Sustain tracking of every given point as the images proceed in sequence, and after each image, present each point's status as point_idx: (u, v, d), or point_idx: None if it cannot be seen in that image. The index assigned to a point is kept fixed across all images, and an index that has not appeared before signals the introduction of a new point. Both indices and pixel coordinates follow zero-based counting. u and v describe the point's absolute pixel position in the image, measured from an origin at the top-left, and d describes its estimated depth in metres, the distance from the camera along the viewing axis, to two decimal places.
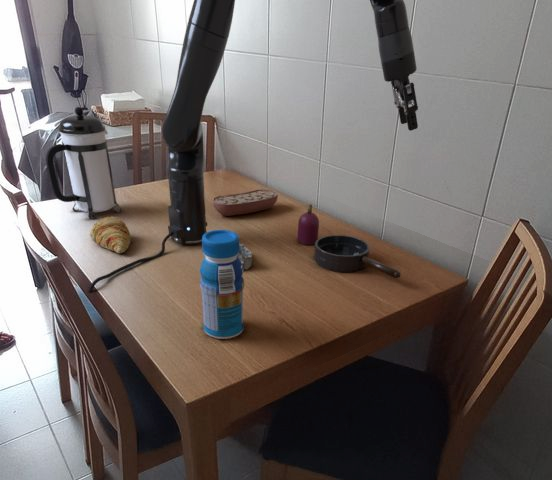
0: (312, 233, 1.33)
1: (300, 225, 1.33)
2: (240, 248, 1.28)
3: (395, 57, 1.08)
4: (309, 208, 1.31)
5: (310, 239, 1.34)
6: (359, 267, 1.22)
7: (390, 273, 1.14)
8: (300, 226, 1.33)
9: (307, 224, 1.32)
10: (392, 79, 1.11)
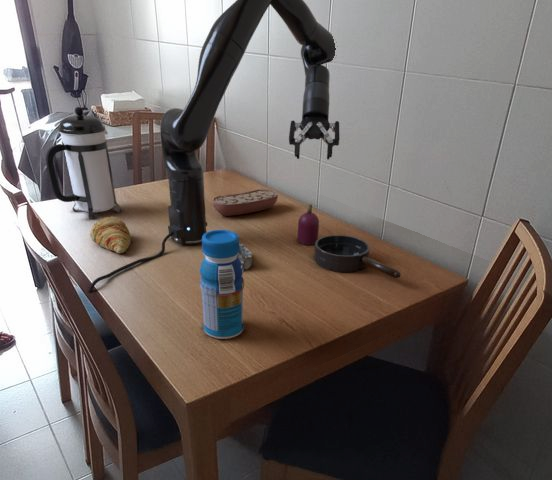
0: (312, 233, 1.33)
1: (300, 225, 1.33)
2: (240, 248, 1.28)
3: (328, 102, 1.35)
4: (309, 208, 1.31)
5: (310, 239, 1.34)
6: (359, 267, 1.22)
7: (390, 273, 1.14)
8: (300, 226, 1.33)
9: (307, 224, 1.32)
10: (325, 113, 1.34)
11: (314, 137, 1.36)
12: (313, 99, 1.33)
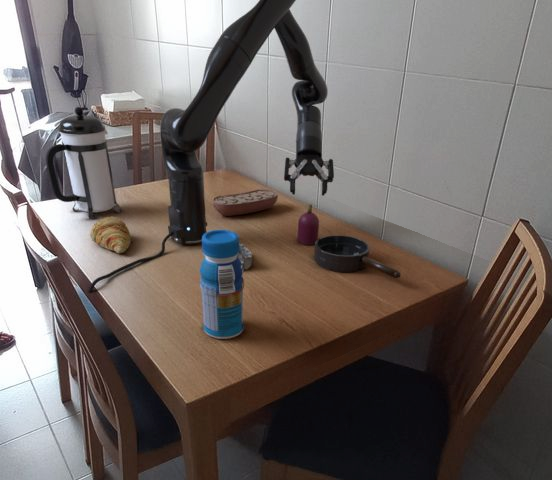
0: (312, 233, 1.33)
1: (300, 225, 1.33)
2: (240, 248, 1.28)
3: (321, 140, 1.39)
4: (309, 208, 1.31)
5: (310, 239, 1.34)
6: (359, 267, 1.22)
7: (390, 273, 1.14)
8: (300, 226, 1.33)
9: (307, 224, 1.32)
10: (319, 151, 1.36)
11: (308, 174, 1.38)
12: (307, 137, 1.36)
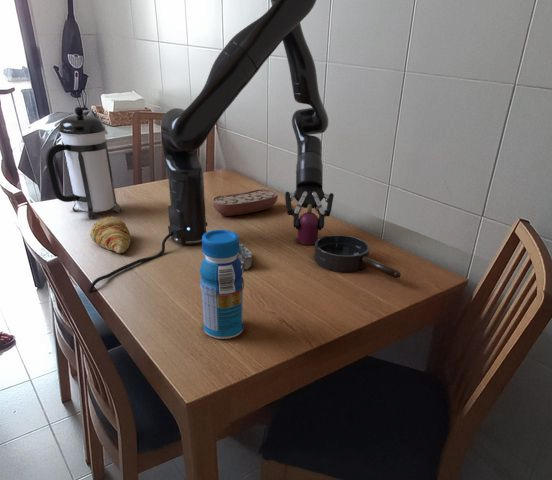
0: (312, 233, 1.33)
1: (300, 225, 1.33)
2: (240, 248, 1.28)
3: (322, 171, 1.35)
4: (309, 208, 1.31)
5: (310, 239, 1.34)
6: (359, 267, 1.22)
7: (390, 273, 1.14)
8: (300, 226, 1.33)
9: (307, 224, 1.32)
10: (319, 183, 1.33)
11: None
12: (308, 169, 1.32)
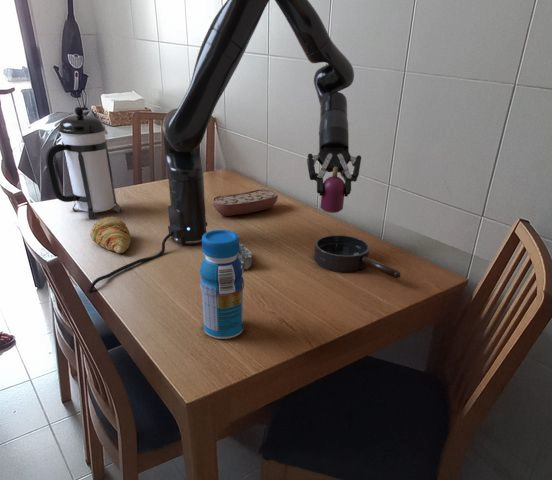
0: (338, 199, 1.20)
1: (324, 191, 1.20)
2: (240, 248, 1.28)
3: None
4: (335, 171, 1.18)
5: (335, 206, 1.21)
6: (359, 267, 1.22)
7: (390, 273, 1.14)
8: (324, 192, 1.20)
9: (333, 189, 1.19)
10: (346, 144, 1.20)
11: None
12: (333, 128, 1.19)
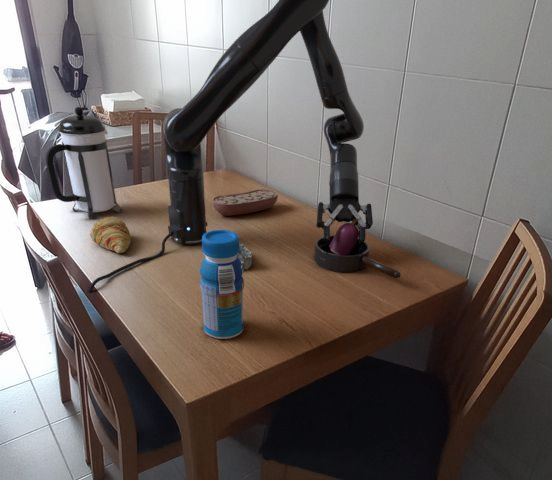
0: (345, 244, 1.24)
1: (338, 231, 1.24)
2: (240, 248, 1.28)
3: None
4: None
5: (341, 248, 1.24)
6: (359, 267, 1.22)
7: (390, 273, 1.14)
8: (338, 232, 1.24)
9: (345, 232, 1.23)
10: (356, 195, 1.22)
11: (344, 220, 1.24)
12: (343, 180, 1.22)
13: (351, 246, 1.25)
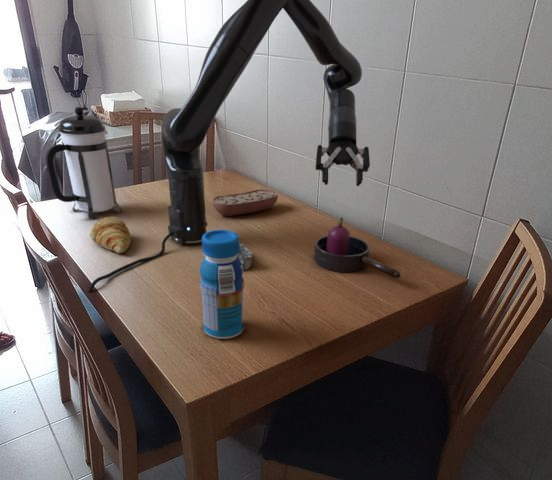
0: (338, 248, 1.24)
1: (328, 238, 1.24)
2: (240, 248, 1.28)
3: None
4: (339, 221, 1.22)
5: (336, 254, 1.25)
6: (359, 267, 1.22)
7: (390, 273, 1.14)
8: (328, 239, 1.25)
9: (334, 238, 1.23)
10: (354, 138, 1.27)
11: (342, 163, 1.28)
12: (342, 123, 1.26)
13: (345, 248, 1.24)
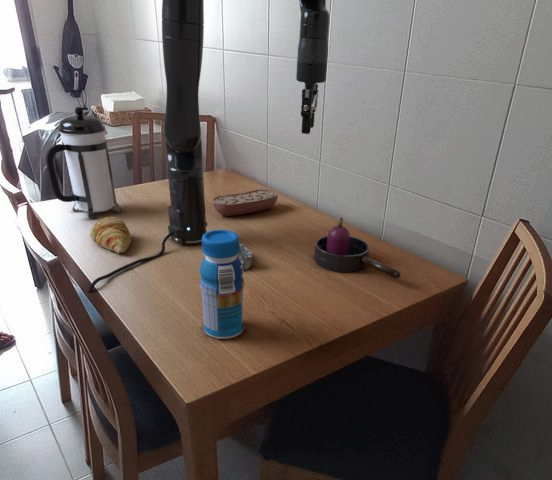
0: (338, 248, 1.24)
1: (328, 238, 1.24)
2: (240, 248, 1.28)
3: (306, 60, 1.16)
4: (339, 221, 1.22)
5: (336, 254, 1.25)
6: (359, 267, 1.22)
7: (390, 273, 1.14)
8: (328, 239, 1.25)
9: (334, 238, 1.23)
10: (300, 80, 1.19)
11: None
12: None
13: (345, 248, 1.24)
